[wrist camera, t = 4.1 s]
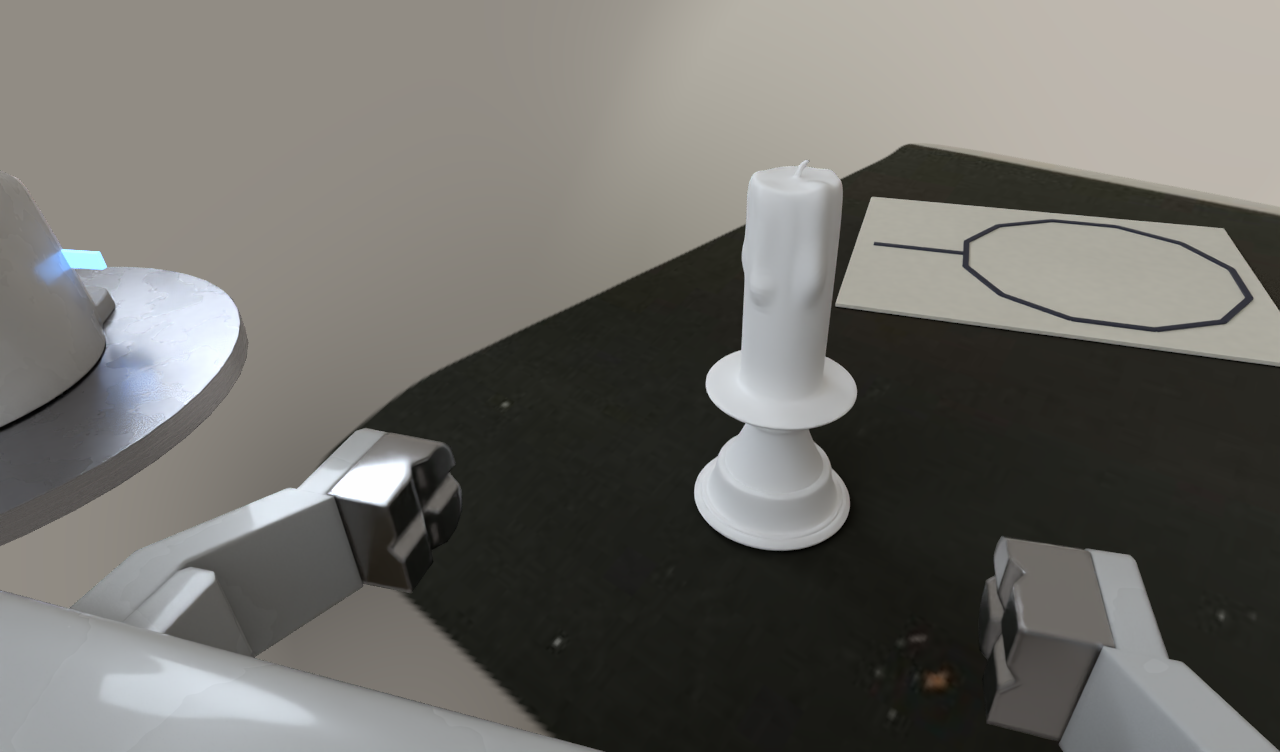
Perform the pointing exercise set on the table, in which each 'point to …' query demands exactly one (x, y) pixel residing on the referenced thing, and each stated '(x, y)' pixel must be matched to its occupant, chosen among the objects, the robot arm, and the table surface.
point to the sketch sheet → (1063, 278)
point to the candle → (782, 372)
